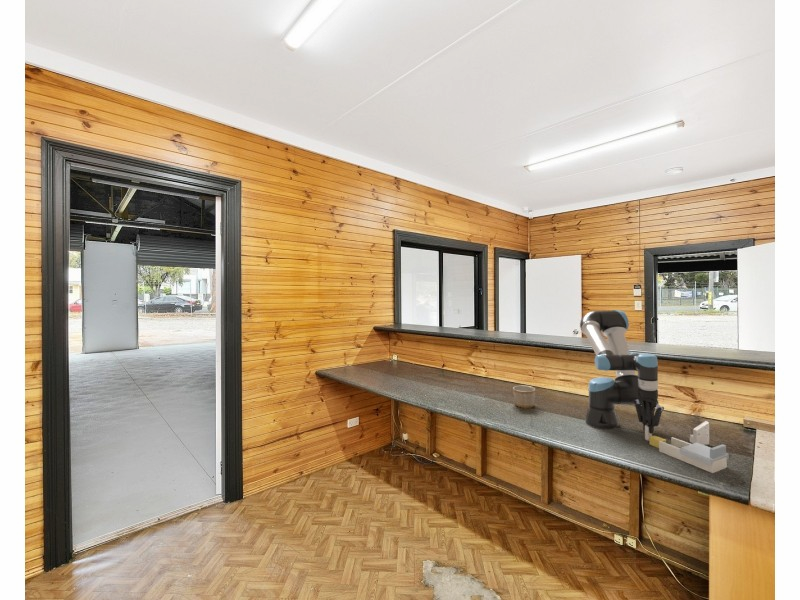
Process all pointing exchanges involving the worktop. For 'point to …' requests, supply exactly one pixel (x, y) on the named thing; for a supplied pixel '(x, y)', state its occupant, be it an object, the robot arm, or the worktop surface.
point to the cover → (704, 452)
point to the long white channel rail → (675, 452)
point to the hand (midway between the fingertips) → (648, 439)
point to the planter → (524, 396)
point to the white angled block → (701, 434)
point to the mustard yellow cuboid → (656, 441)
